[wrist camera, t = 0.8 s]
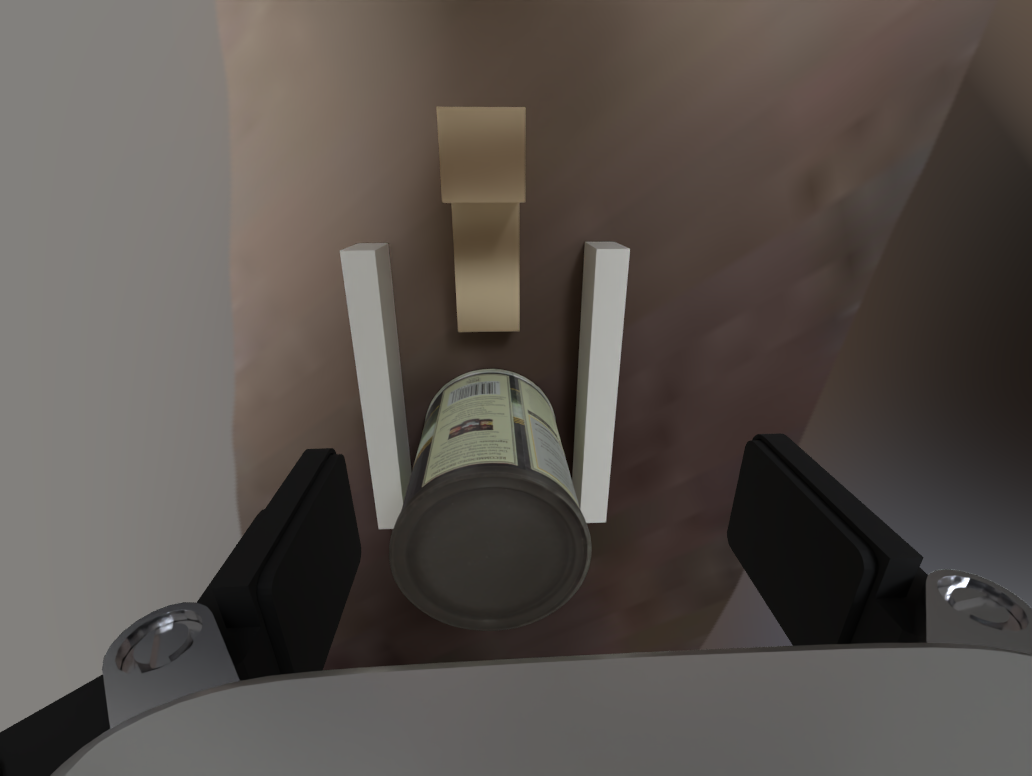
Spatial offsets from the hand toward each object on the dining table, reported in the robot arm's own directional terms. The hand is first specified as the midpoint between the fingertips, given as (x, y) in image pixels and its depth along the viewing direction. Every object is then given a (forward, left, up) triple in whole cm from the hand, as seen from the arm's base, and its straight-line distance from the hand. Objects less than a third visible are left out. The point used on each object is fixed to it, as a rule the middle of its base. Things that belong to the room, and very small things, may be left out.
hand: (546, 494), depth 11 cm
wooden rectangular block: (-4, -2, -24) cm, 24 cm away
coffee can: (+11, -2, -24) cm, 26 cm away
